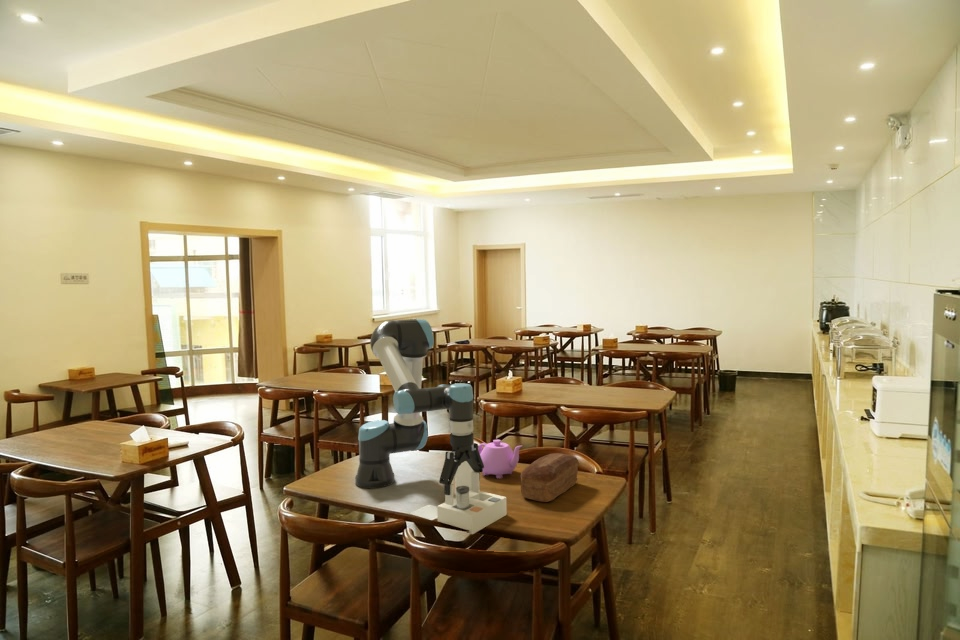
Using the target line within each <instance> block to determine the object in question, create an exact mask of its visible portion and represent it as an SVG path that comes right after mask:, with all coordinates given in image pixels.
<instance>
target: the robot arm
mask: <svg viewBox="0 0 960 640" xmlns="http://www.w3.org/2000/svg"><path fill="white" fill-rule="evenodd" d="M369 342H370V349H371V351H372V354H373V356H374V357H376V358H377V359H379V362H380V364H381V365H382V367H383V370H384V372H385V374H386V375H387V378H388V380H389V382H390V384H391V386H392V388H393V390H394V393H393V397H392V403H393V408H394V411H395V412H396V413H397V414H395V415H394V417H393V423H390V422H389V421H388V420H385V419H381V420H378V419H377V420H373V421H368V422H366V423H364V424H362V425H361V426H360V427H359V429H358V437H357V438H358V439H357V440H358V454H359V455H358V458H359V460H358V461H359V463H358V464H359V465H358V467H357V473H356V475H355V485H356V486H357V487H359V488H365V489H379V488H385V487H387V486H390V485H392V484H393V483H394V482H395V481H396V480H395V479H396V478H395V473H394V471H393V467H392V465H391V460H390V454H398V453H404V452H405V453H406V452H414V451H417V450H418V451H419V450H421V449H423V448H424V447H425V446H426V444H427V441H428V436H429V431H428V424H427V422H426V421H425V420H424V417H423V416H422V415H421V413H423V412H433V411H440V410H441V411H442V410H448V411H449V433H450V435H449V444H450V446H451V447H452V451H446V452H445V456H444V463H443V466H442V468H441V469H442V470H441V473H440V478H439V480H438V482H439V484H440V485H443V487H444V488H443V489H444V491H443V492H444V497H445V500H444V503H445V504H448V505H454V502H453V498H454V484H452V483H453V480H454V479H455V474H456V471H457V469H458V467H459V466H460V465H461V463H463V462H464V461H467V462H468V464H469V465H470V467H471V468H472V469H473V471H472V472H471V482H472V491H473V492H477V493H479V492H480V491H481V490H480V479H481V474H480V473H483V468H484V464H483V462H482V459H481V456H480V453H479V450H478V447H479V445H478V443H474V442H475V441H474V439H475V438H474V433H473V432H474V393H473V386H472V385H471V384H469V383H461V382H459V383H453V384H438V385H437V386H436V387H435V386H434V387H424V388H422V383H423V382H422V381H423V379H422V377H423V366H424V365H423V363H424V359H425V358H426V357H427V355H428V350H431V349H432V348H433V346H434V343H435V340H434V333H433V329H432V326H431V325H430V323H429V321H427V320H426V319H421V318H420V319H418V318H411V319H395V320H394V319H393V320H392V319H390V320H385V321H383V322H382V323H380V324H378V326H377V327H375V329H374V331H373V332H372V334H371V337H370V341H369ZM455 460H456V461H455Z"/></svg>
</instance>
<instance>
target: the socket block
mask: <svg viewBox="0 0 960 640" xmlns="http://www.w3.org/2000/svg"><path fill="white" fill-rule="evenodd" d="M453 502H454V505H448V504H445V502H443V503H441V504H438V505H437V516H438V518H437V522H439V523H442V524H446V525H450V526H452V527H456V528H460V529H463V530H466V534H470V535H474V534H476V533H478V532H479V531H481V530H483V529H484V528H485V527H488V526H489V525H491V524H493V523H495V522H496V521H498V520H500V519H502V518H503V517H505V516H507V513H508V512H507V497H506V496H503V495H499V494H496V493H495V494H494V493H490V492H486V491H483V490H480V492H479V493H477V492H473V491H472V490H470V491H469V509H467V510H465V511H464V510H460V509H457V497H456V496H455V497H453Z"/></svg>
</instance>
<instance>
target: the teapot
mask: <svg viewBox="0 0 960 640" xmlns="http://www.w3.org/2000/svg"><path fill="white" fill-rule="evenodd" d="M492 441H493V442H489V443H486V442H482V443H480V444H479V445H478V451H479V453H480V456H481V459H482V462H483V464H484V468H483V471H482V476H485V475H486V476H489V475H495V478H496V479H498V478H499V479H503V478H504V477H503V475H512V474H513V471H514V470H515V468H517V466H518V463H519V459H520V455H519V454H520V449H521V448H522V445H517V446H515V448H514V450H513V449H512V447H511V446H510V445H509V444H508V443H506V442H502V440H501V439H493V440H492ZM499 479H498V480H499Z"/></svg>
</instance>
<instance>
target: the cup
mask: <svg viewBox="0 0 960 640" xmlns="http://www.w3.org/2000/svg"><path fill="white" fill-rule="evenodd" d="M455 461H456V460H455ZM472 471H473V469H472V468H471V467H470V465H469V464H468V462H467V461H464V462H463V463H461V465H460V466H459V467H458V469H457V471H456V474H455V476H454V479H455V481H454V482H455V483H454V484H455V486H454V487H455V488H454V489H455V490H454V492H455V497H457V492H456V487H458V486H468V487H469V491H470V490H472V482H471V472H472Z"/></svg>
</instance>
